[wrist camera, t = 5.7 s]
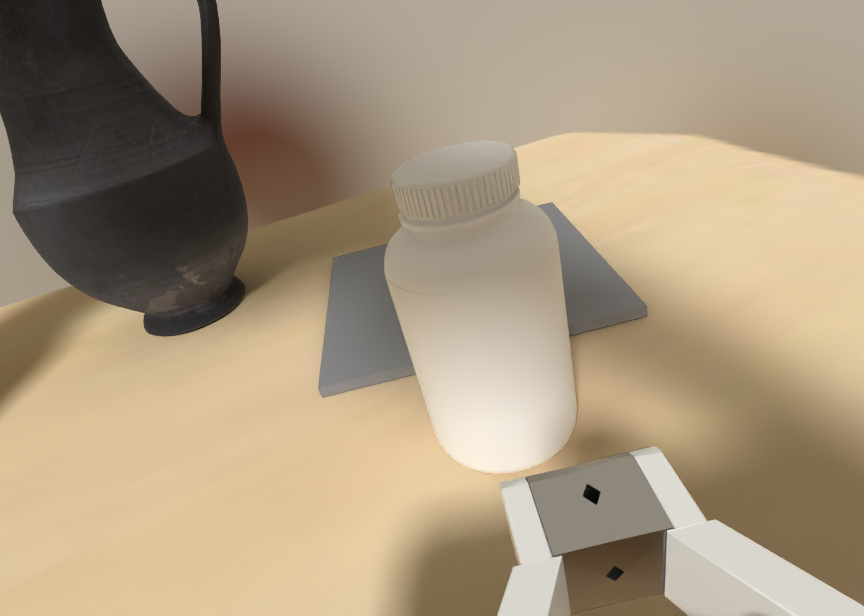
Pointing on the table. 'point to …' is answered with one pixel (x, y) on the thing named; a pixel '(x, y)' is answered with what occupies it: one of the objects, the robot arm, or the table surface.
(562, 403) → the pill bottle
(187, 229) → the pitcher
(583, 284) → the mat
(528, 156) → the table surface
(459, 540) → the table surface
